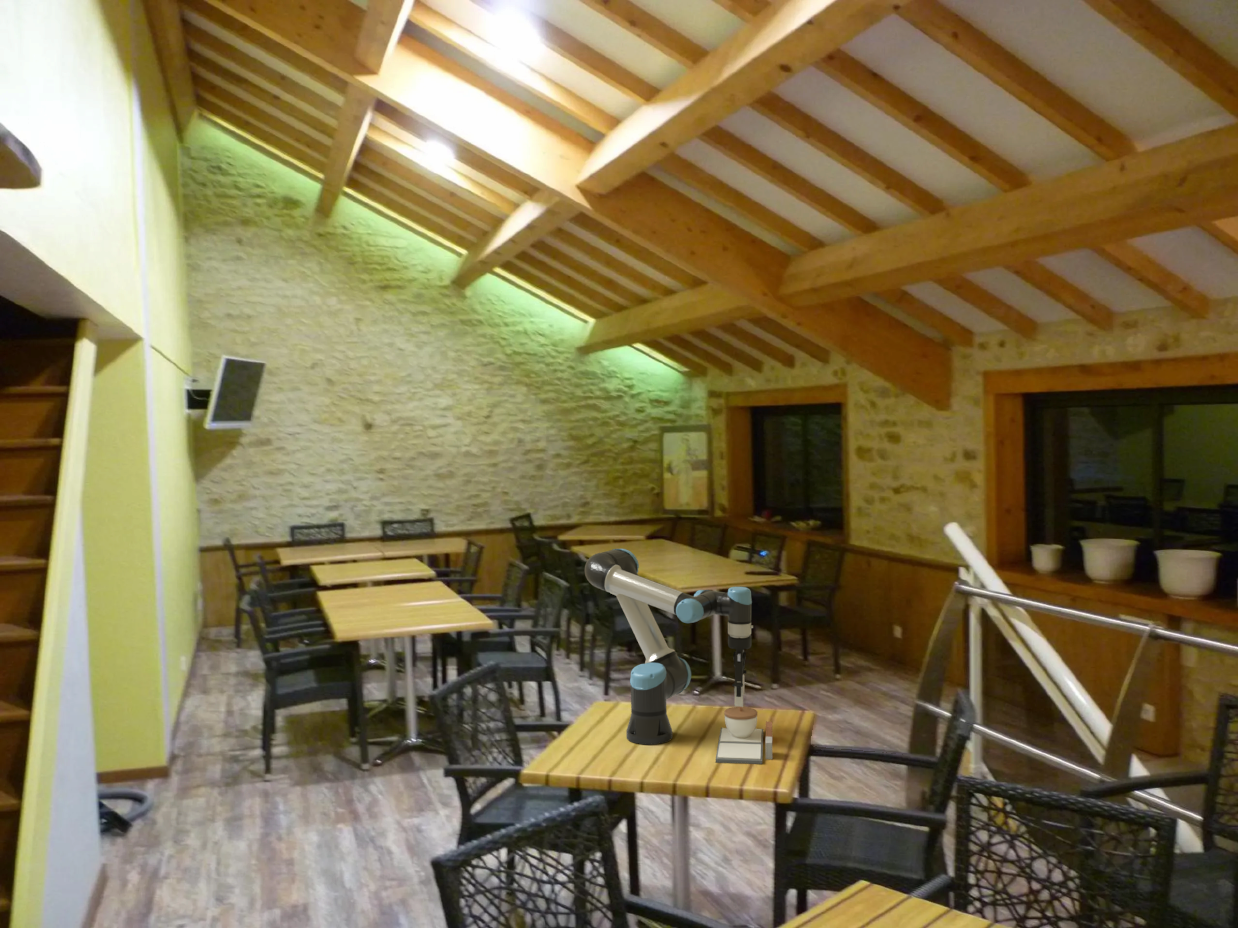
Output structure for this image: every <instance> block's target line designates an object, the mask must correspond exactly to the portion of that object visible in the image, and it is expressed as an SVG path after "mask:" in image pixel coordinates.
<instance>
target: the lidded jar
mask: <svg viewBox="0 0 1238 928" xmlns="http://www.w3.org/2000/svg"><path fill="white" fill-rule="evenodd" d="M723 711H724V713H723V714H724V723H725V726H726V727H725V728H727V729H728V731H729V732H730V733H731V734H732V736H734V737H737V738H746V737H749V736H750V735H751V734H752V733H753V732H754V730H755V729H757V724H758V711H757V710H756V709H754V708H752V707H749V706H743V707H740V706H731V707H728V708H725V709H724V710H723Z"/></svg>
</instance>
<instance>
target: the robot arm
mask: <svg viewBox="0 0 1238 928" xmlns="http://www.w3.org/2000/svg"><path fill="white" fill-rule="evenodd" d="M639 568H640V564H639V560H638V558H637V557H636V556H635V554H634V553H633V552H632V551H630V550H628V549H626V548H614V549H613V548H612V549H610V550H607V551H606V550H605V551H601V552H598V553H595V554H593V555H591V556H590V557H589V558H588V559H587V561H586V563H585V565H584V575H585V578H586V580H587V581H588V583H590V584H591V585H592V586H593V587H595V588H596V589H600V590H601V591H605V592H607V593H610V595H611V594H612V595H614V596H616V599H617V602H619V605H620V607H621V609H622V611H623V613H624V615H625V617H626V619H627V621H628V624H629V627H630V628H631V630H632V632H633V634H634V636H635V638H636V641H637V642H638V645H639V647H640V649H641V651H642V653H643V655H644V657H645V662H644V663H641V664H638V665H636V666H634V667H633V668H632V669H631V672H630V679H629V683H630V706H631V707H630V708H631V709H630V711H631V714H630V717H629V721H628V724H627V728H626V739H627V740H628V741H629V742H631V743H634V744H638V743H639V744H638V745H659V744H658V743H660V744H664V743H667V742H670V741H671V740H672V739H673V729H672V726H671V722H670V719H669V717H668V714H667V699H669V698H672V697H674V696H676V695H678V694H680V693H682V692H683V691H684V690H686V689H687V688H688V686H689V685H690V683H691V679H692V670H691V667H690V665H689V663H688V662H687V661H686V660H685V659H684V658H682V657H680V656H678V654H677V652H676V650H675V649H673V648H670V647H669V646H668V643H667V642H666V640H665V638H664V635H663V633H662V632H661V629H660V627H659V625H658V623H657V621H656V619H655V617H654V615H653V612H652V611H651V609H650V606H651V607H654V608H657V609H660V610H662V611H665V612H667V613H670V614H673V615H675V616H677V618H678V619H679V621H681V622H682V623H685V624H692V623H696V622H698V621H700V620H703V619H706V618H708V617H711V616H713V615H717V616H725V617H726V616H727V634H728V636H727V646H728V648H730V649H732V650H735V651H733V655H732V658H733V667H734V683H732V685H731V686H732V687H734V703H733V705H734V706H733V707H739V706H740V707H744V695H745V674H747V670H746V669H745V668H746V666H745V663H746V658H747V657H746V656H747V652H746V651H745V650H748V649H750V648H752V635H751V634H752V629H754V625H752V603H753V600H752V591H751V589H750V588H748V587H745V586H732V587H729V588H728V590H727V592H723V591H714V590H709V589H706V590H705V589H704V590H703V589H699V590H697V591H695V593H694V594H693V595H690V594H688V593H685V592H684V591H680V590H678V589H676V588H672V587H669V586H667V585H664V584H661V583H658V582H656V581H653V580H651V579H648V578H645V577H642V576H640V575H639V574H638V573H639ZM670 739H671V740H670ZM663 742H664V743H663Z"/></svg>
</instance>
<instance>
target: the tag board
mask: <svg viewBox="0 0 1238 928" xmlns="http://www.w3.org/2000/svg"><path fill="white" fill-rule="evenodd" d="M719 731H720V732H719V738H718V743H717V749H716V754H715V763H718V764H719V763H722V764H745V765H747V764H748V765H749V764H750V765H763V756H764V755H763V750H764V747H763V746H764V745H765V760H773V721H765V744H764V729H763V728H755V730H754V732H753V733H752V734H751V735H750V736H749V737H746V738H737V737H734V736H732V734H731V733H730V732H729V731H728V729H727V727H720V730H719Z"/></svg>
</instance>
